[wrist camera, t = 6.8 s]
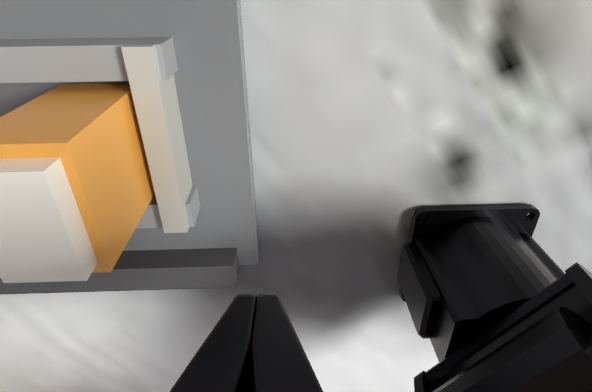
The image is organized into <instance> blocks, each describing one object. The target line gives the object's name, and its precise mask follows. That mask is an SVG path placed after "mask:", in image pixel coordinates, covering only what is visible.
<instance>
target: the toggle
mask: <svg viewBox="0 0 592 392" xmlns="http://www.w3.org/2000/svg"><path fill="white" fill-rule="evenodd" d="M154 194H155V191H154V187H153V183H152V178H151V174H150V170H149V166H148V161H147V157H146V153H145V148H144V144H143V140H142V135H141V131H140V127H139V123H138V118H137V114H136V110H135V105H134V101H133V97H132V92H131V88H130V84H129V82H118V83H63V84H61V85H59V86H57V87H56V88H54V89H52V90H50V91H48V92H46V93H44V94H43V95H41V96H39V97H37V98H35V99H33V100H31V101H29V102H28V103H26V104H24V105H22V106H20V107H18V108H16V109H15V110H13V111H11V112H9V113H7V114H5V115H3V116H2V117H0V278H1V280H2V281H3V283H29V282H64V281H87V280H88V278H89V276H90V275H91V273H96V272H111V271H112V270H113V268H114V266H115V264H116V262H117V261H118V259H119V257H120V255H121V254H122V252H123V250H124V248H125V246H126V245H127V243H128V241H129V239H130V237H131V236H132V234H133V232H134V230H135V228H136V227H137V225H138V223H139V221H140V219H141V218H142V216H143V214H144V212H145V211H146V209H147V207H148V205H149V203H150V202H151V200H152V198H153V196H154Z"/></svg>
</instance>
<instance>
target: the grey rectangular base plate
mask: <svg viewBox="0 0 592 392" xmlns="http://www.w3.org/2000/svg"><path fill="white" fill-rule="evenodd" d="M238 272H239V263H238V254H237V248H206V249H169V250H132V251H123V252H122V254H121V255H120V257H119V259H118V261H117V262H116V264H115V266H114V268H113V270H112V271H111V272H96V273H91V275H90V276H89V278H88V280H87V281H64V282H29V283H3V281H2V280H1V278H0V294H27V293H61V292H95V291H130V290H164V289H198V288H232V287H237V280H238Z"/></svg>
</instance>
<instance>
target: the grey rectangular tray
mask: <svg viewBox="0 0 592 392" xmlns="http://www.w3.org/2000/svg"><path fill="white" fill-rule="evenodd" d="M118 82H129V84H130V88H131V92H132V97H133V101H134V105H135V110H136V114H137V118H138V123H139V127H140V131H141V135H142V140H143V144H144V148H145V153H146V157H147V161H148V166H149V170H150V174H151V178H152V183H153V187H154V191H155V194H154V196H153V198H152V200H151V202H150V203H149V205H148V207H147V209H146V211H145V212H144V214H143V216H142V218H141V219H140V221H139V223H138V225H137V227H136V228H135V230H134V232H133V234H132V236H131V237H130V239H129V241H128V243H127V245H126V246H125V248H124V250H123V251H132V250H169V249H206V248H237V254H238V263H239V265H258V255H259V246H258V232H257V219H256V206H255V193H254V180H253V167H252V153H251V140H250V127H249V114H248V101H247V88H246V75H245V61H244V48H243V35H242V22H241V9H240V0H0V117H2V116H3V115H5V114H7V113H9V112H11V111H13V110H15V109H16V108H18V107H20V106H22V105H24V104H26V103H28V102H29V101H31V100H33V99H35V98H37V97H39V96H41V95H43V94H44V93H46V92H48V91H50V90H52V89H54V88H56V87H57V86H59V85H61V84H63V83H118Z"/></svg>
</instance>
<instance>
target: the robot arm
mask: <svg viewBox="0 0 592 392" xmlns="http://www.w3.org/2000/svg"><path fill="white" fill-rule="evenodd" d="M528 213H530V214H529V215H527V214H528ZM424 215H427V217H426V218H424V219H421V217H422V216H424ZM526 215H527V216H526ZM539 216H540V212H539V210H538V209H536V208H535V207H534V206H533V205H530V204H522V205H482V206H442V207H421V208H419V209H417V210H416V211H415V212H414V215H413V219H412V225H411V230H410V236H409V242H408V243H406V244H405V245H404V247H403V251H402V257H401V263H400V269H399V274H398V282H399V284H400V296H401V298H402V300H403V301H405V302H406V303H407V306H408V309H409V311H410V314H411V317H412V320H413V322H414V325H415V328H416V330H417V333H418V335H419V336H421V337H422V338H430V340H431V343H432V345H433V348H434V350H435V353H436V355H437V358H438V360H439V363H438V364H437V365H435V366H434V367H432V368H431V369H429V370H428V371H427V372H425V371H423V372H421V373H420V374H419V375H417V376H416V377H414V388H415V392H592V273H590V272H589V271H588V270H586V269H585V268H584V267H583V266H581V265H580V264H579V263H575V264H574V265H572V266H571V267H570V268H568V269H567V270H565V272H566V274H565V273H564V272H563V271H562V270H561V269H560V268H559V267H558V266H557V265H556V264H555V262H554V261H553V260H552V259H551V258H550V257H549V256H548V255H547V254H546V253H545V252H544V250H543V249H542V248H541V247H540V246H539V245H538V244H537V243H536V242H535V241H534V240H533V238H532V234H533V232H534V229H535V226H536V224H537V221H538V219H539ZM170 392H323V391H322V388H321V386H320V384H319V382H318V380H317V378H316V375H315V373H314V371H313V369H312V367H311V365H310V363H309V360H308V358H307V356H306V354H305V352H304V350H303V347H302V345H301V343H300V341H299V339H298V337H297V335H296V332H295V330H294V328H293V326H292V324H291V322H290V319H289V317H288V315H287V313H286V311H285V309H284V306H283V304H282V302H281V300H280V298H279V296H278V295H277V294H276V293H262V294H259V295H258V296H257V295H256V294H239V295H237V296H236V297H235V298H234V300H233V301H232V302H231V304H230V305H229V307H228V308H227V310H226V311H225V313H224V314H223V315H222V317H221V318H220V320H219V321H218V323H217V324H216V326H215V327H214V328H213V330H212V331H211V333H210V334H209V336H208V337H207V339H206V340H205V341H204V343H203V344H202V346H201V347H200V349H199V350H198V351H197V353H196V354H195V356H194V357H193V359H192V360H191V362H190V363H189V364H188V366H187V367H186V369H185V370H184V372H183V373H182V375H181V376H180V377H179V379H178V380H177V382H176V383H175V385H174V386H173V387H172V389H171V390H170Z"/></svg>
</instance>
